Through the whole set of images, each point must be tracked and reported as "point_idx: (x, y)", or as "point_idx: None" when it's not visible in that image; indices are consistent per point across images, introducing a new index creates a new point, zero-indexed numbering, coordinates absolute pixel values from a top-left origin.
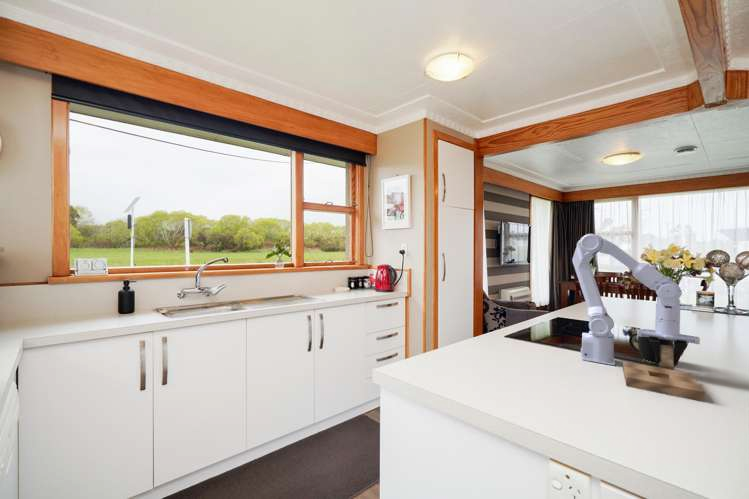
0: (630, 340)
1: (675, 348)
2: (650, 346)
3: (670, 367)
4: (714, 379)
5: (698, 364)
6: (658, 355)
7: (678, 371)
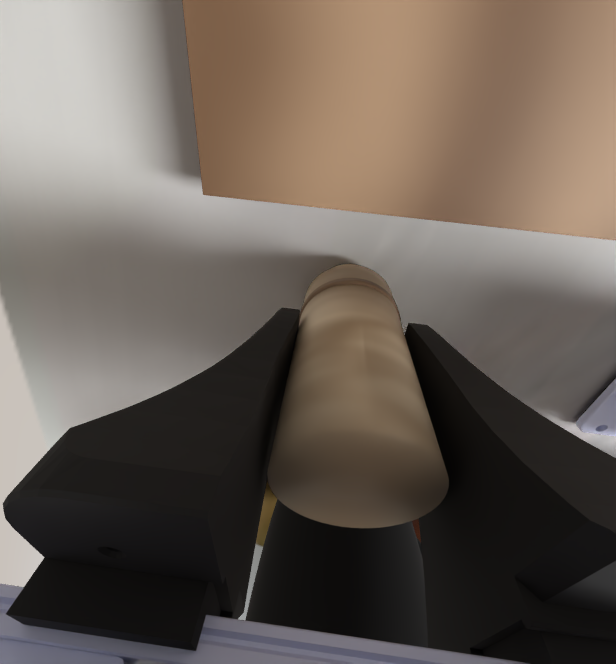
0: None
1: (259, 457)
2: (383, 543)
3: (333, 284)
4: (114, 322)
5: None
6: (444, 354)
7: (296, 189)
